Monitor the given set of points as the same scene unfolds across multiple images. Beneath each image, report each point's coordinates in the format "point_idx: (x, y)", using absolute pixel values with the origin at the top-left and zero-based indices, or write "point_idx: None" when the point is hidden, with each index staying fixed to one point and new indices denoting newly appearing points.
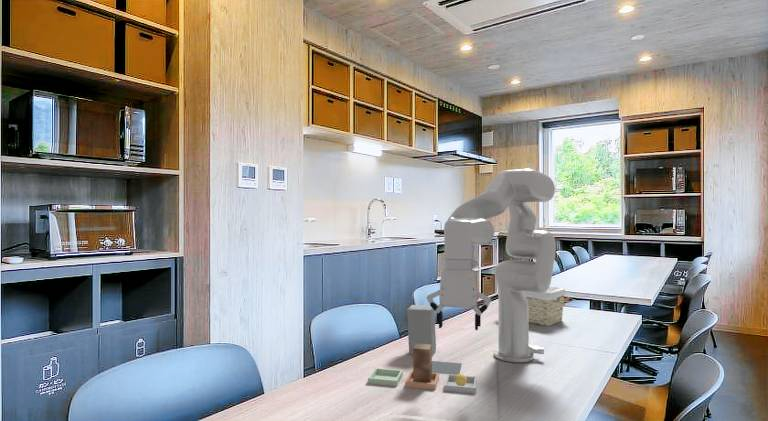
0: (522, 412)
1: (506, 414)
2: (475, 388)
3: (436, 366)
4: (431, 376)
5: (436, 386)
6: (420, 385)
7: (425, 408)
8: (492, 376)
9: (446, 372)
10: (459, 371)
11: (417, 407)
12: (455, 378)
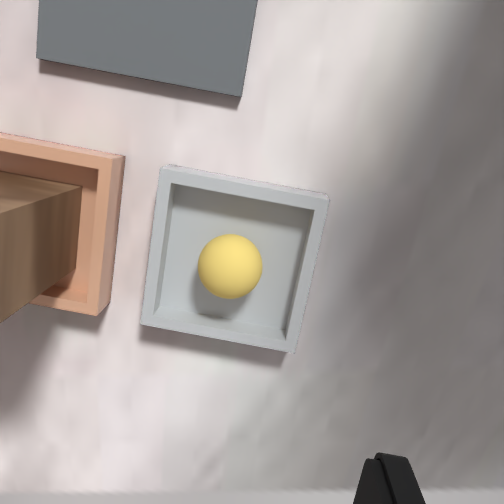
0: (452, 475)
1: None
2: (293, 352)
3: None
4: (71, 202)
5: (109, 271)
6: None
7: (76, 449)
8: (443, 74)
9: (165, 58)
10: (247, 34)
11: (44, 442)
12: (198, 273)
